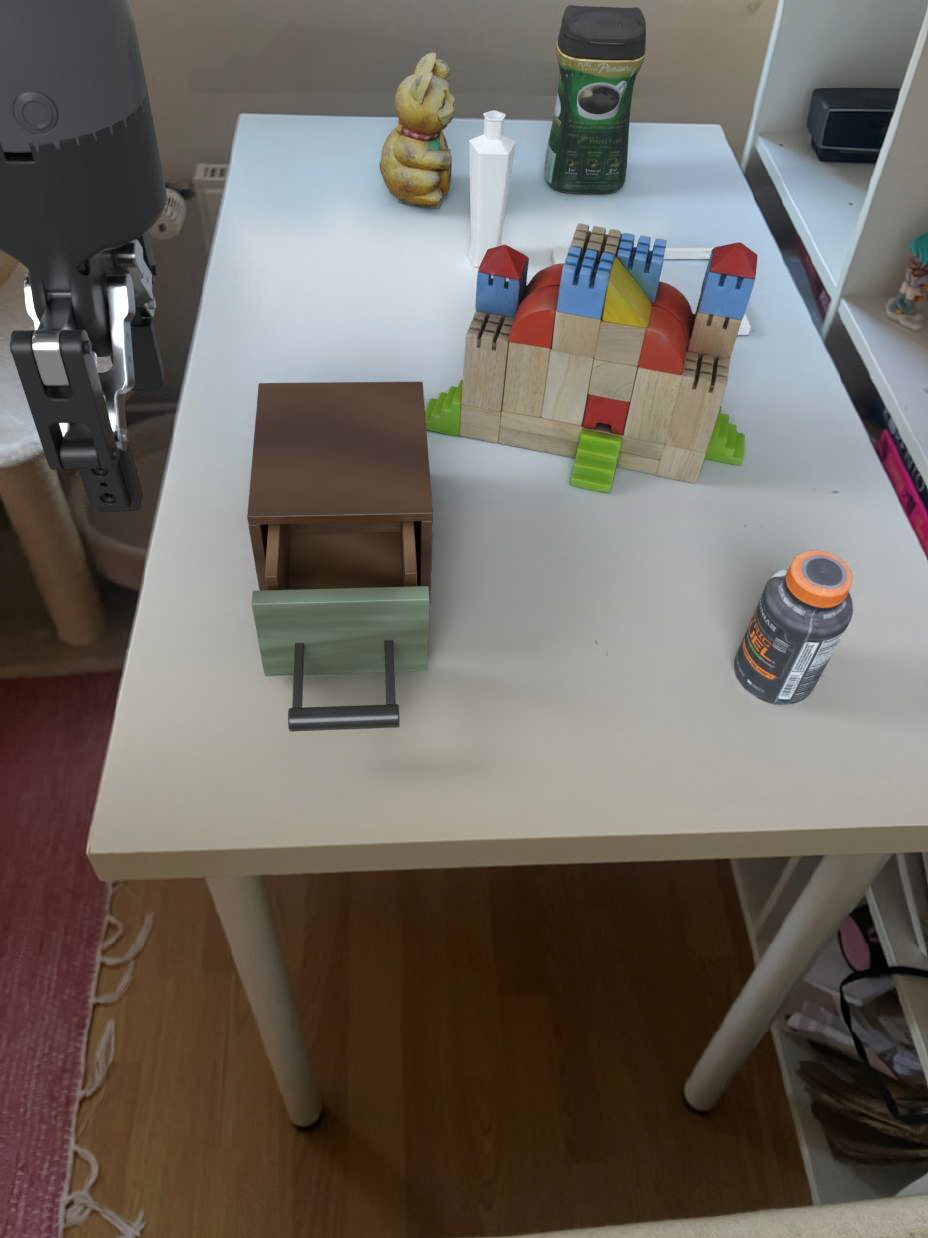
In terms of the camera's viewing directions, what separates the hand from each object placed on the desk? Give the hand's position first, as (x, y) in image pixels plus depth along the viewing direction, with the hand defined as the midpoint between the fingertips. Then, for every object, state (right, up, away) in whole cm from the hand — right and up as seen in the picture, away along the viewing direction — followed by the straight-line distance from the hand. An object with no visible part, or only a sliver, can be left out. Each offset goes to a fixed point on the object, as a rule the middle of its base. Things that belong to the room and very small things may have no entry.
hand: (131, 443), depth 47 cm
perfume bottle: (+18, +30, +60) cm, 70 cm away
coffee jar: (+30, +44, +72) cm, 89 cm away
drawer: (+7, -10, +25) cm, 28 cm away
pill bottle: (+38, -12, +26) cm, 48 cm away
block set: (+26, +8, +42) cm, 51 cm away
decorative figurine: (+10, +40, +68) cm, 79 cm away
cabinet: (+6, -2, +33) cm, 34 cm away
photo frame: (+35, +25, +57) cm, 71 cm away
